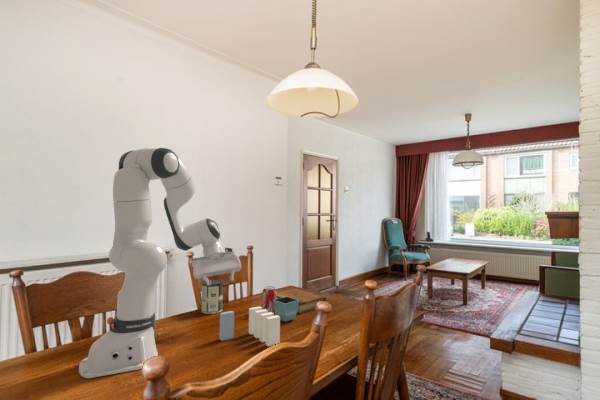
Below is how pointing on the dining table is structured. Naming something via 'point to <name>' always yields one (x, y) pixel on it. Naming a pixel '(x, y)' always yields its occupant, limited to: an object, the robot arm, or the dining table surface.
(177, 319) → the dining table surface
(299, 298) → the diary
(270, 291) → the soda can
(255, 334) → the tile
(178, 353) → the dining table surface
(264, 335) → the tile
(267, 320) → the tile
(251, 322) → the tile
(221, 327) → the tile
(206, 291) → the coffee can
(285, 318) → the flower pot
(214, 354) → the dining table surface
